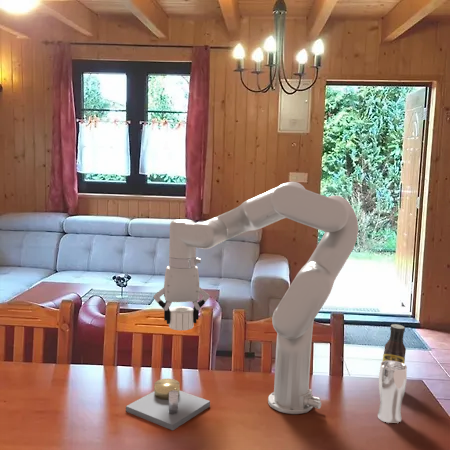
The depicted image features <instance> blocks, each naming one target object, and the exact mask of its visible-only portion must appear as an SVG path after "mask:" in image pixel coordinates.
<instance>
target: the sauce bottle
mask: <svg viewBox="0 0 450 450" xmlns="http://www.w3.org/2000/svg"><path fill="white" fill-rule="evenodd" d="M405 330H406V328H405V326H404V325H401V324H398V323H397V324H396V323H394V324H391V325H390V336H389V339H388V341H387V342H386V343H385V345H384V350H383V355H382V362H383V361H386V360H393V361H398V362H401V363H403V364H405V360H406V359H405V358H406V351H407V350H406V349H407V348H406V346H405V344H404V335H405V332H406V331H405Z"/></svg>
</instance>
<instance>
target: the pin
mask: <svg viewBox="0 0 450 450" xmlns="http://www.w3.org/2000/svg"><path fill="white" fill-rule="evenodd" d="M177 413H178V391H175V390H172V391H170V392H169V414H171V415H175V414H177Z"/></svg>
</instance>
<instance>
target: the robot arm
mask: <svg viewBox="0 0 450 450" xmlns="http://www.w3.org/2000/svg"><path fill="white" fill-rule="evenodd" d="M283 219H289V220H291V221H294V222H296V223H299V224H302V225H304V226H308V227H310V228H313V229H316V230H319V231H322V232H324V233H323V236H322V238H321V239H320V241H319V242H318V244H317V245H316V248H315V249H314V250H313V252H312V254H311V256H309V259H308V260H307V262H305V264H304V265H303V266H302V267H301V269H300V270H299V271H298V272H297V273H296V276H295V277H294V279H293V280H292V282H291V283H290V285H289V287H288V289H287V290H286V292H285V293H284V295H283V297H282V298H281V299H280V301H279V302H278V305H277V306H276V308H275V309H274V310H273V314H272V317H271V318H272V320H271V321H272V327H273V329H274V331H275V332H276V333H277V335H276V347H275V362H274V363H275V366H274V367H275V368H274V383H273V384H274V385H273V388H274V389H273V392H271V393H270V394H269V395H268V397H267V402H268V405H269V406H270V408H272V409H274V410H276V411H278V412H280V413H283V414H289V415H299V414H306V413H308V412H309V411H311V410H312V409H313V408H315V409H319V410H320V409H321V407H322V401H321V398H320V397H318V396H314V395H313V390H312V389H311V388H310V374H311V373H310V372H311V371H310V370H311V369H310V368H311V357H312V356H311V355H312V354H311V353H312V340H313V339H312V338H313V330H314V329H313V328H314V320H315V318H316V317H317V316H318V314H319V312H320V311H321V309H323V306H324V305H325V303H326V301H327V299H328V298H329V296H330V294H331V292H332V289H333V288H334V287H333V286H334V282H335V281H336V279H337V278H338V275H339V273H340V272H341V270H342V269H343V268H344V265H345V264H346V262H347V261H348V259H349V257H350V255H351V254H352V251H353V250H354V248H355V246H356V243H357V239H358V236H359V235H358V233H359V223H358V217H357V215H356V212H355V210H354V208H353V207H352V205H351V203H349V201H348V200H347V199H345V198H344V197H342V196H341V195H329V196H326V195H323V194H320V193H317V192H314V191H311V190H309V189H306V188H305V186H304V185H303V184H301V183H300V182H298V181H288V182H284V183H281V184H280V185H278V186H276V187H274V188H271V189H269V190H267V191H266V192H263V193H260V194H258V195H256V196H254V197H252V198H249V199H247V200H245V201H243V202H242V203H241V204H240V205H238V206H237V207H234V208H233V209H231V210H229V211H226V212H224V213H222V214H219V215H218V216H215V217H212V218H210V219H206V220H205V221H200V222H195V221H194V220H191V219H182V218H181V219H174V220H171V221H170V222H169V223H170V224H169V250H168V251H169V252H168V253H169V257H168V259H169V263H168V264H169V265H167V266H166V268H165V272H164V281H163V287H162V289H160V290H159V291H157V292H156V293H155V294H154V295H153V299H154V300H155V302H156V303H157V304H158V306H160V307H161V308H162V309H163V313H164V314H163V315H164V318H163V320H164V321H166V324H167V325H169V324H170V310H169V309H170V308H171V307H170V306H171V305H172V303H192V304H193V307H192V308H193V309H194V324H197V321H198V320H199V314H200V313H199V312H200V311H199V310H200V309H201V308H202V307H203V306H204V305H205V303H206V302H207V301H208V300H209V298H210V294H209V293H208V292H206V291H205V290H204V289H203V288H201V287H200V275H199V269H198V268H199V267H198V266H197V265H198V264H201V262H202V260H201V258H199V257H197V256H196V253H197V252H196V250H197V249H201V250H202V249H203V250H209V249H212V248H214V247H215V246H217V245H219V244H221V243H223V242H225V241H227V240H230V239H232V238H235V237H236V236H239V235H241V234H243V233H244V234H245V233H247V232H250V231H258V230H261V229H262V228H265V227H267V226H270V225H272V224H275V223H277V222H278V221H279V222H280V220H283ZM200 295H202V298H200V297H201V296H200ZM162 296H163V297H164V300H162V299H161V297H162ZM164 301H165V302H164Z"/></svg>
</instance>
